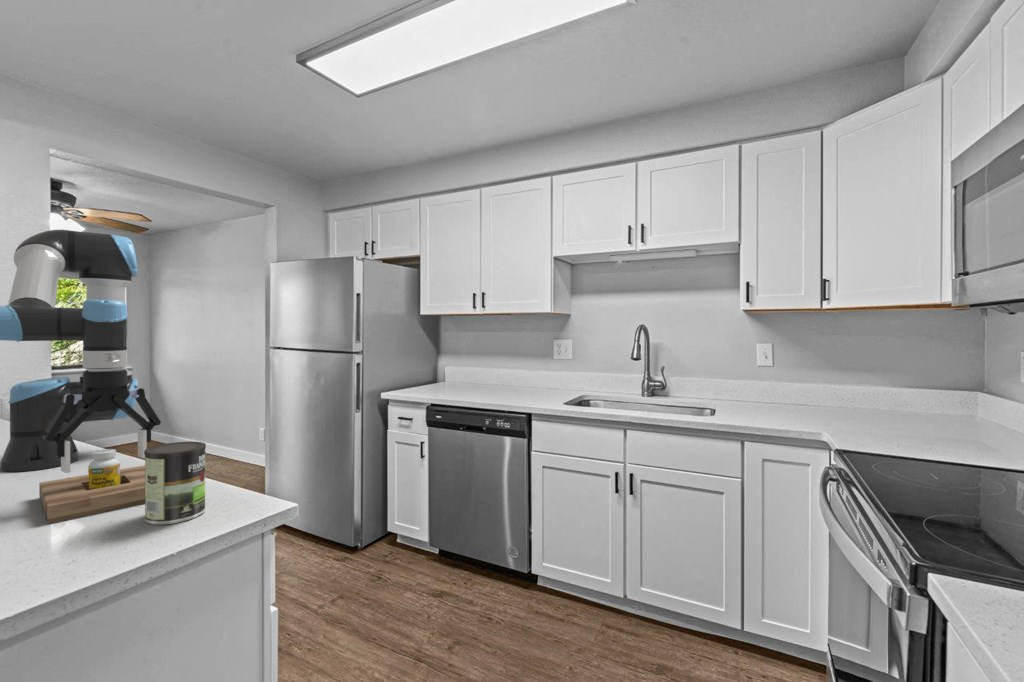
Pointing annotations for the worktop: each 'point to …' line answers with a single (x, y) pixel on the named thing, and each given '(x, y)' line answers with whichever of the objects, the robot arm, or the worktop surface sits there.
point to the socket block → (90, 495)
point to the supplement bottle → (104, 469)
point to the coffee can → (174, 482)
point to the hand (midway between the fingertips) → (106, 464)
